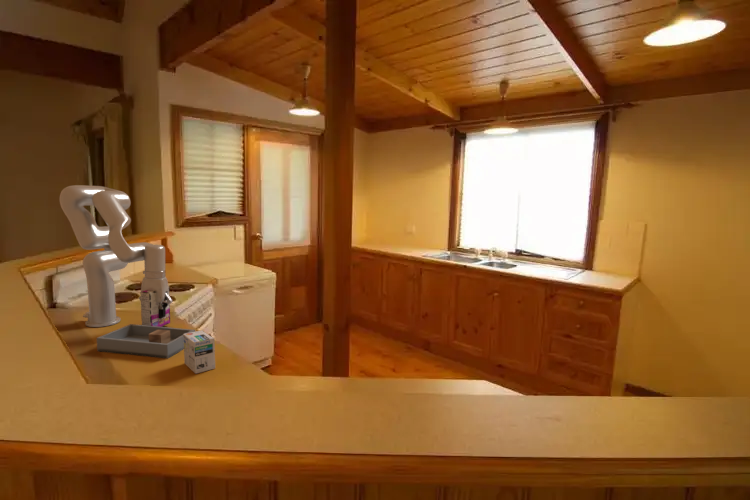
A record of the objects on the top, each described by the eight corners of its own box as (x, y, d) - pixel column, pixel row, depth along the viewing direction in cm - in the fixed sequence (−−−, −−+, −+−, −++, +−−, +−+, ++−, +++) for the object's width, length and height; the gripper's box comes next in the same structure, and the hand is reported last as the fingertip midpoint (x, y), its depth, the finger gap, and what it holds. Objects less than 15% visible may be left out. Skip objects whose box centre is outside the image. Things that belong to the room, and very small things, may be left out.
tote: (97, 351, 141) (96, 338, 140) (131, 336, 156) (130, 324, 156) (167, 358, 137) (167, 344, 136) (195, 342, 152) (195, 329, 152)
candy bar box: (160, 321, 170) (160, 285, 168) (170, 323, 170) (170, 286, 167) (140, 330, 160) (139, 291, 157) (151, 331, 159) (150, 292, 156)
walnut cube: (149, 347, 144) (148, 334, 143) (158, 342, 148) (158, 329, 148) (161, 348, 143) (160, 335, 142) (170, 343, 148) (170, 330, 147)
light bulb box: (215, 368, 130) (215, 337, 129) (195, 374, 126) (194, 342, 124) (203, 358, 138) (202, 329, 136) (183, 363, 133) (182, 333, 132)
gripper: (129, 274, 159) (131, 317, 161) (167, 278, 156) (168, 321, 159) (143, 271, 166) (144, 312, 169) (179, 274, 164) (180, 316, 166)
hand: (156, 316), depth 164 cm, fingers closed on candy bar box, 5 cm apart
